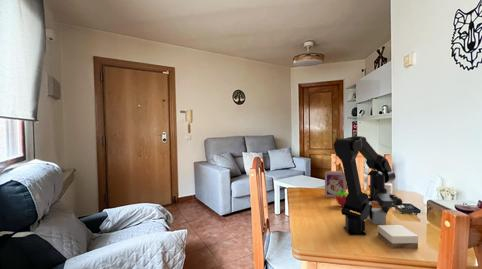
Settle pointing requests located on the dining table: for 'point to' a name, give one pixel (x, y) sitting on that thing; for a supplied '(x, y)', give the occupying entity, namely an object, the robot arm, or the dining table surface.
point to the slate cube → (378, 216)
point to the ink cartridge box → (389, 189)
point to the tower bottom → (398, 244)
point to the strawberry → (341, 197)
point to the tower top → (397, 234)
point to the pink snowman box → (334, 183)
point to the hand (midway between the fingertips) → (376, 219)
